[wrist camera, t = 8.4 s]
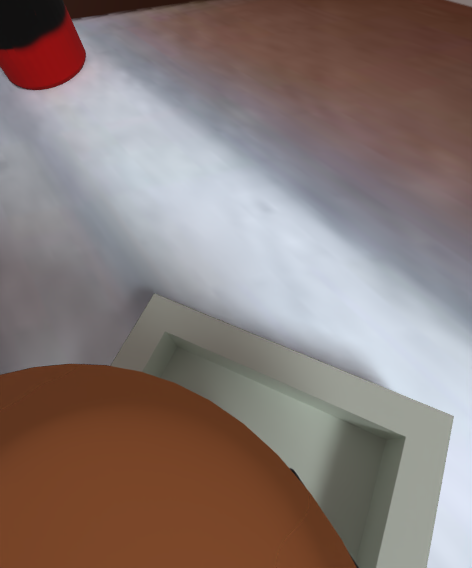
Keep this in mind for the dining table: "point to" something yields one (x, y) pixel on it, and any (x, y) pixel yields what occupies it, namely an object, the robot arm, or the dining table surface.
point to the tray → (312, 426)
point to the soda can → (38, 43)
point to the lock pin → (144, 479)
